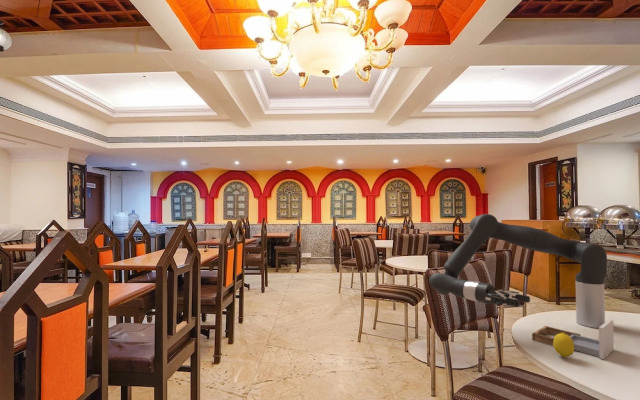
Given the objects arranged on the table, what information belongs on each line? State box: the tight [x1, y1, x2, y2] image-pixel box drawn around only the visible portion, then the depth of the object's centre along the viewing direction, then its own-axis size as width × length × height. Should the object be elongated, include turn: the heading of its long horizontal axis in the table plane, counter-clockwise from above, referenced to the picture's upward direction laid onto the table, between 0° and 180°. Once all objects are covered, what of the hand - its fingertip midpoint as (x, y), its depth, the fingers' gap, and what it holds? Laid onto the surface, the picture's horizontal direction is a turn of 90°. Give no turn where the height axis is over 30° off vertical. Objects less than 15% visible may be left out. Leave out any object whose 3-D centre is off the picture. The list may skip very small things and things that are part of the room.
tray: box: [570, 318, 615, 360], centre depth 115 cm, size 12×11×10 cm
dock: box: [531, 325, 581, 347], centre depth 122 cm, size 12×11×2 cm
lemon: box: [552, 333, 575, 359], centre depth 109 cm, size 6×6×8 cm
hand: (524, 301), depth 118 cm, fingers open, 8 cm apart
